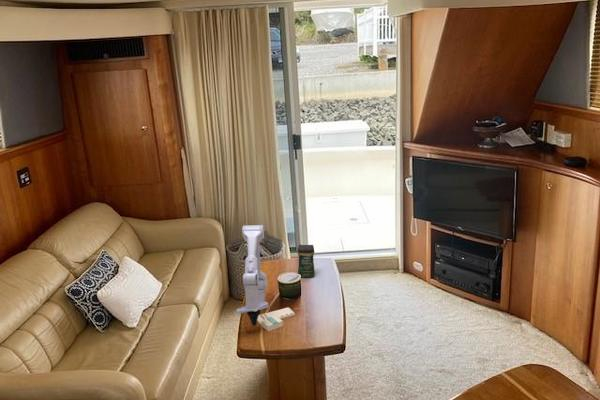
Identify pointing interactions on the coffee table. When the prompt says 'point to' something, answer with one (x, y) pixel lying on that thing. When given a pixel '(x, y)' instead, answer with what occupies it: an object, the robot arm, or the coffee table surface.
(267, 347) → the coffee table surface
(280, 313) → the board
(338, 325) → the coffee table surface
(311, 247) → the coffee jar
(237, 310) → the robot arm
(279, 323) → the white and teal box
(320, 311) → the coffee table surface
